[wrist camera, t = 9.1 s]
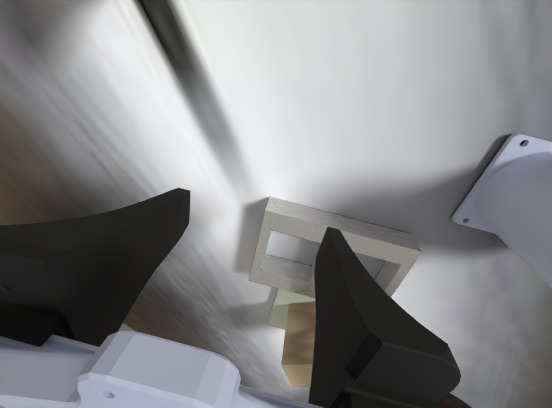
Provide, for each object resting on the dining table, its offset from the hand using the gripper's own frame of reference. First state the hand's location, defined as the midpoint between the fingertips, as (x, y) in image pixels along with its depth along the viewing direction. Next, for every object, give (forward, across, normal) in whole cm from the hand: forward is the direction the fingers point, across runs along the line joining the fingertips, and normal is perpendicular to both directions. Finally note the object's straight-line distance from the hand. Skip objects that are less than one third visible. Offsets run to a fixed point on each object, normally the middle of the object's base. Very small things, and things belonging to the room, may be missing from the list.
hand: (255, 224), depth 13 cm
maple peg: (+10, -8, +18) cm, 22 cm away
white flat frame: (+10, -7, +9) cm, 15 cm away
